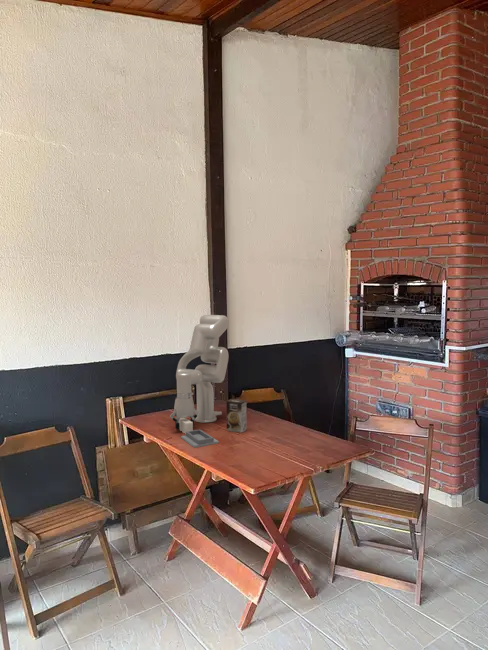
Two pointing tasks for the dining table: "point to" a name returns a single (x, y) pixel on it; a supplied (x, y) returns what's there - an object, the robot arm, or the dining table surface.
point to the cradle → (198, 438)
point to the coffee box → (236, 415)
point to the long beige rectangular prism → (185, 425)
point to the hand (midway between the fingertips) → (184, 428)
